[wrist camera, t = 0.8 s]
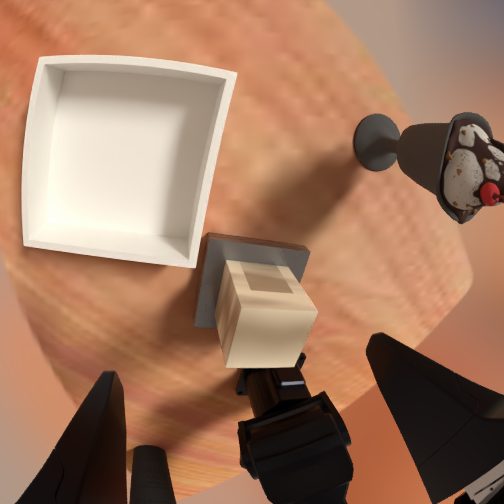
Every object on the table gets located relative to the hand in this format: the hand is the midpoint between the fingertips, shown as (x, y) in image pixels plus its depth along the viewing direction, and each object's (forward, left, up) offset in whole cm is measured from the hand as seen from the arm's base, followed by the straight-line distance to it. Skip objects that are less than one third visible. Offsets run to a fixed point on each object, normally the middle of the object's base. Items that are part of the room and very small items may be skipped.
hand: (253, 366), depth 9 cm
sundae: (+9, -12, -14) cm, 21 cm away
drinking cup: (-36, +4, -14) cm, 39 cm away
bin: (+4, +7, -14) cm, 16 cm away
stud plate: (-5, -4, -14) cm, 15 cm away
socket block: (-5, -4, -13) cm, 14 cm away
